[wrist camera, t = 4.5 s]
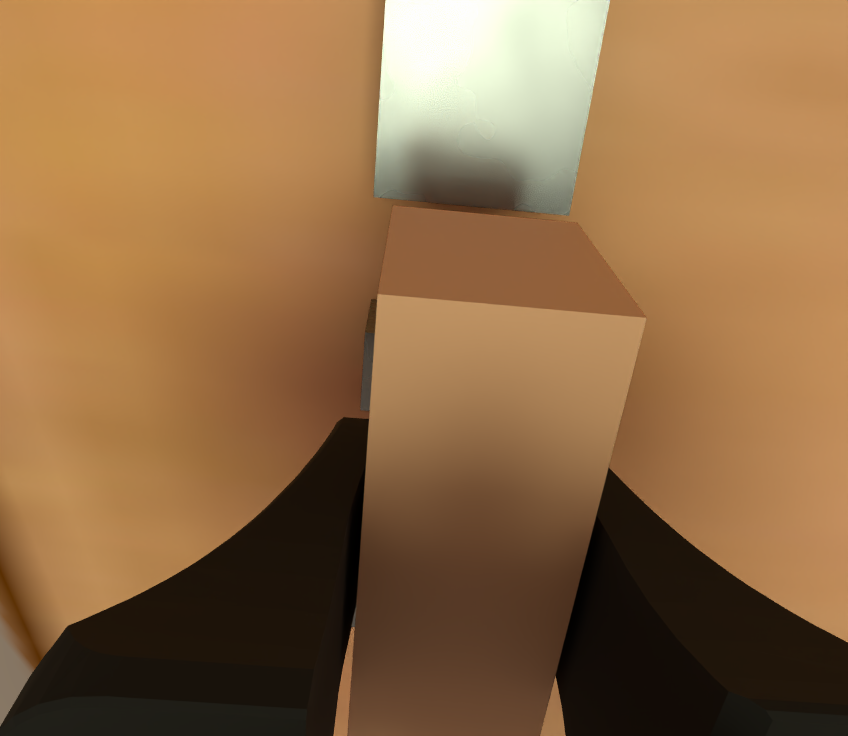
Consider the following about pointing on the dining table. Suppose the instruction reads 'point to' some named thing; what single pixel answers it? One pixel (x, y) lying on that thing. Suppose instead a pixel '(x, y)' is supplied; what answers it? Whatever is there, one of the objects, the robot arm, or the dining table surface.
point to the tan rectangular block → (482, 467)
